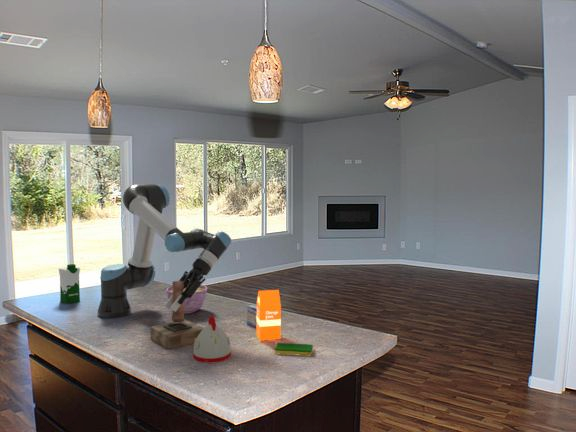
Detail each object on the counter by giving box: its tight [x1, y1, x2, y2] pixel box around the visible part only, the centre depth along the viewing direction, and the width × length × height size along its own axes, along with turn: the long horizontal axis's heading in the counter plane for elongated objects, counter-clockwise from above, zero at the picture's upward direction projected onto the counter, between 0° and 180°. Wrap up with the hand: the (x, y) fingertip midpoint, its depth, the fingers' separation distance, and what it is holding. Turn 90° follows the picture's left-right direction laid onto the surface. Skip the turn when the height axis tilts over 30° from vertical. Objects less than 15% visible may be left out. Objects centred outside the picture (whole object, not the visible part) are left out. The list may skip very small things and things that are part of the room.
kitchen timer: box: [192, 315, 232, 364], centre depth 176 cm, size 14×14×15 cm
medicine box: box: [246, 304, 257, 329], centre depth 213 cm, size 8×4×9 cm, turn 47°
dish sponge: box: [274, 342, 314, 356], centre depth 182 cm, size 7×14×2 cm, turn 82°
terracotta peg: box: [172, 280, 185, 322], centre depth 193 cm, size 4×4×16 cm
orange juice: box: [256, 289, 282, 342], centre depth 197 cm, size 8×9×20 cm
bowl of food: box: [166, 284, 208, 315], centre depth 235 cm, size 20×20×12 cm
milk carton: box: [58, 263, 81, 305], centre depth 250 cm, size 9×9×20 cm
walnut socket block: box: [150, 319, 205, 350], centre depth 194 cm, size 16×16×6 cm
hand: (169, 308), depth 190 cm, fingers closed on terracotta peg, 4 cm apart
